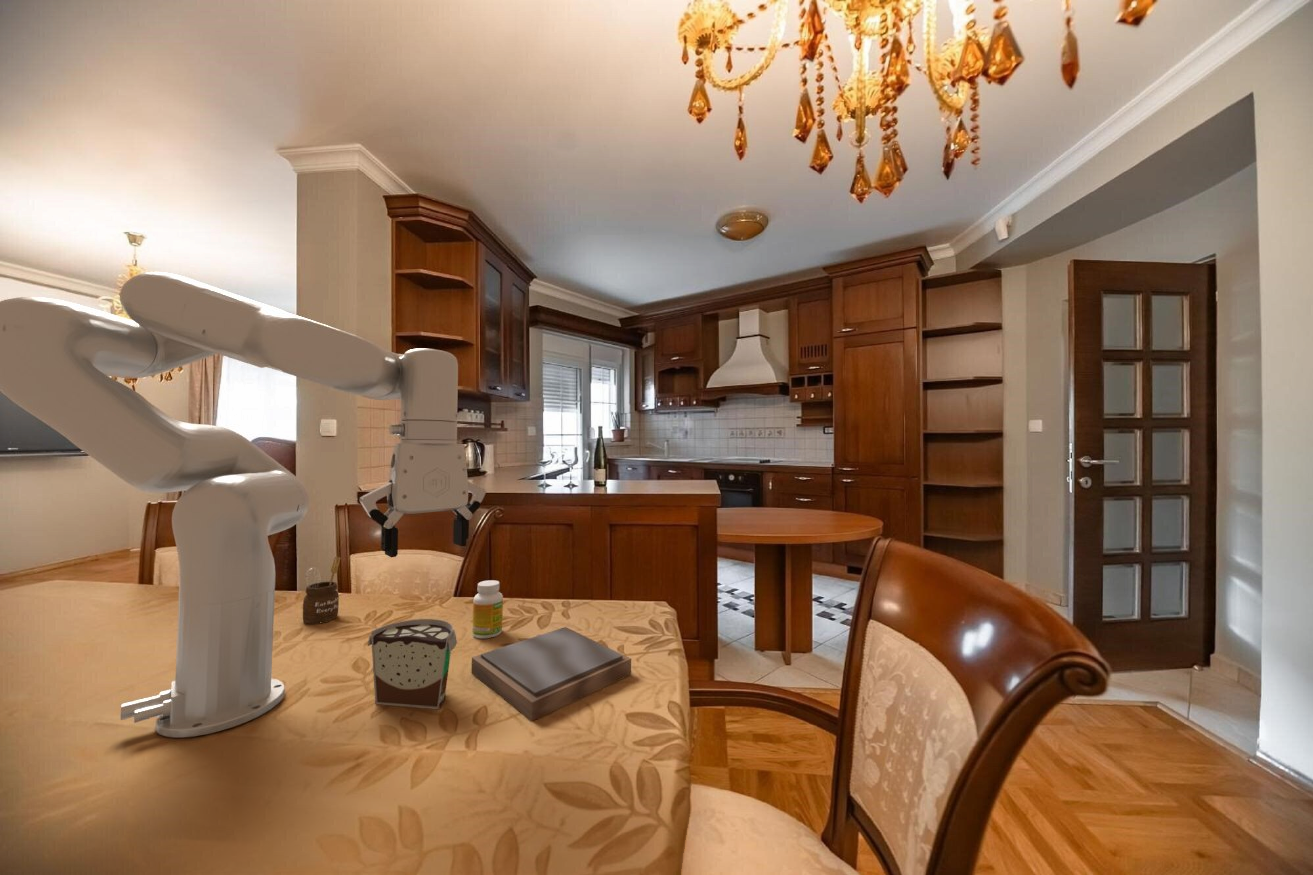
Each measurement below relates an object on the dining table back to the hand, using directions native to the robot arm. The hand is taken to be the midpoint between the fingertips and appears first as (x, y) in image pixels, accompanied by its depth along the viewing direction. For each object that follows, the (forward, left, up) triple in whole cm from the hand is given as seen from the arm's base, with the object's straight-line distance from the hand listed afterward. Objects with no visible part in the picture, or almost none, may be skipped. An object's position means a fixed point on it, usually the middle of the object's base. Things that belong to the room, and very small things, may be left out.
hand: (427, 549), depth 67 cm
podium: (+17, -8, -21) cm, 28 cm away
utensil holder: (-4, +44, -21) cm, 49 cm away
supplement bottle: (+17, +14, -21) cm, 30 cm away
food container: (0, 0, -21) cm, 21 cm away
